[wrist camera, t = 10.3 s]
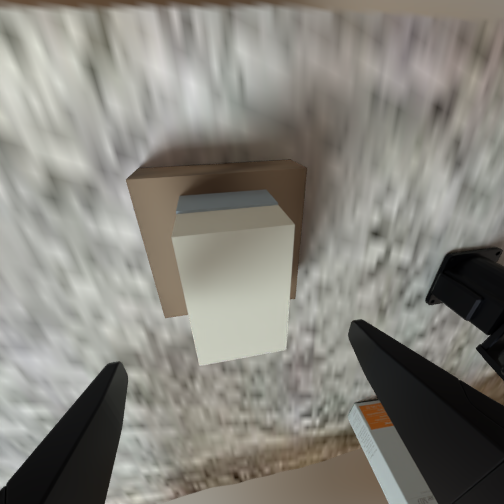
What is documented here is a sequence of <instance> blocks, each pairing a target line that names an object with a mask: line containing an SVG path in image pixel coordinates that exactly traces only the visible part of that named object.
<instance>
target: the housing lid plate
mask: <svg viewBox="0 0 504 504" xmlns="http://www.w3.org/2000/svg"><path fill="white" fill-rule="evenodd" d="M294 231H295V224H294V223H293V222H292V220H291V219H290V218H289V217H288V216H287V215H286V213H285V212H284V211H283V210H282V209H281V208H280V206H279V205H272V206H261V207H249V208H238V209H227V210H216V211H205V212H194V213H183V214H176V219H175V223H174V228H173V233H172V237H171V238H172V242H173V247H174V251H175V256H176V260H177V265H178V270H179V274H180V279H181V283H182V288H183V292H184V297H185V302H186V306H187V311H188V315H189V320H190V324H191V329H192V334H193V338H194V343H195V347H196V352H197V356H198V361H199V366H202V365H207V364H213V363H218V362H223V361H229V360H234V359H240V358H245V357H250V356H256V355H261V354H267V353H272V352H277V351H283V350H286V343H287V329H288V315H289V301H290V287H291V273H292V259H293V245H294Z"/></svg>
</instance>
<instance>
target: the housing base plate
mask: <svg viewBox="0 0 504 504" xmlns="http://www.w3.org/2000/svg"><path fill="white" fill-rule="evenodd" d="M272 205H278V202H277V201H276V200H275V199H274V198H273V197H272V195H271V194H270V193H269V192H268V191H267V190H252V191H239V192H225V193H212V194H198V195H185V196H179V200H178V204H177V209H176V214H183V213H194V212H205V211H216V210H227V209H238V208H249V207H261V206H272Z"/></svg>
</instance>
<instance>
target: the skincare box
mask: <svg viewBox="0 0 504 504" xmlns="http://www.w3.org/2000/svg"><path fill="white" fill-rule="evenodd" d="M348 420H349V422H350V424H351V426H352V428H353V430H354V432H355V434H356V436H357V438H358V440H359V442H360V445H361V447H362V449H363V451H364V453H365V455H366V457H367V459H368V461H369V463H370V465H371V467H372V469H373V471H374V473H375V475H376V477H377V480H378V482H379V484H380V486H381V488H382V490H383V492H384V494H385V496H386V498H387V500H388V503H389V504H438V503H437V501H436V499H435V498H434V496H433V494H432V492H431V491H430V489H429V487H428V485H427V483H426V482H425V480H424V478H423V476H422V475H421V473H420V471H419V469H418V468H417V466H416V464H415V462H414V461H413V459H412V457H411V455H410V454H409V452H408V450H407V448H406V447H405V445H404V443H403V441H402V439H401V438H400V436H399V434H398V432H397V431H396V429H395V427H394V425H393V424H392V422H391V420H390V418H389V417H388V415H387V413H386V411H385V410H384V408H383V406H382V404H381V402H380V401H379V400H376V401H369V402H362V403H355V404H354V405H353V408H352V410H351V411H350V413H349V415H348Z"/></svg>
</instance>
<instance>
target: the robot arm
mask: <svg viewBox="0 0 504 504" xmlns="http://www.w3.org/2000/svg"><path fill="white" fill-rule="evenodd" d="M502 252H503V250H502V249H500V248H497V247H496V248H488V249H481V250H473V251H466V252H458V253H451V254H448V255H447V256H446V257H445V258H444V260H443V263H442V265H441V267H440V269H439V272H438V274H437V276H436V278H435V280H434V283H433V285H432V287H431V289H430V291H429V294H428V296H427V298H426V301H425V302H426V303H427V304H429V305H434V304H440V303H444V304H445V305H446V306H448V307H449V308H450V309H452V310H453V311H454V312H455V313H457V314H458V315H459V316H461V317H462V318H463V319H464V320H466V321H469V322H471V323H472V324H473V325H475V326H476V327H477V328H479V329H480V330H481V331H482V332H484V333H485V334H486V335H490V336H489V337H488V338H487V339H486V340H485V341H484V342H483V343H482V344H479V345H478V346H477V347H476V350H477V351H478V352H479V353H480V354H481V355H482V357H483V358H484V359H485V360H486V362H487V363H488V364H489V365H490V366H491V367H492V368H493V369H494V370H495V372H496V373H497V374H498V375H499V376H500V377H501V378H502V379H503V380H504V266H502V265H500V264H498V263H496V262H497V260H498V259H499V257H500V255H501V254H502ZM348 337H349V341H350V343H351V345H352V347H353V349H354V352H355V354H356V356H357V358H358V361H359V363H360V365H361V367H362V370H363V372H364V374H365V376H366V378H367V380H368V381H369V383H370V385H371V387H372V388H373V390H374V392H375V394H376V395H377V397H378V399H379V401H380V402H381V404H382V406H383V408H384V410H385V411H386V413H387V415H388V417H389V418H390V420H391V422H392V424H393V425H394V427H395V429H396V431H397V432H398V434H399V436H400V438H401V439H402V441H403V443H404V445H405V447H406V448H407V450H408V452H409V454H410V455H411V457H412V459H413V461H414V462H415V464H416V466H417V468H418V469H419V471H420V473H421V475H422V476H423V478H424V480H425V482H426V483H427V485H428V487H429V489H430V491H431V492H432V494H433V496H434V498H435V499H436V501H437V503H438V504H504V406H503V405H501V404H500V403H498V402H496V401H494V400H493V399H491V398H489V397H487V396H486V395H484V394H482V393H481V392H479V391H477V390H476V389H474V388H472V387H471V386H469V385H468V384H466V383H464V382H463V381H461V380H458V378H456V377H455V376H453V375H451V374H450V373H448V372H447V371H445V370H443V369H442V368H440V367H438V366H437V365H435V364H434V363H432V362H430V361H429V360H427V359H426V358H424V357H422V356H421V355H419V354H417V353H416V352H414V351H413V350H411V349H409V348H408V347H406V346H405V345H403V344H401V343H400V342H398V341H396V340H395V339H393V338H392V337H390V336H388V335H387V334H385V333H384V332H382V331H380V330H379V329H377V328H376V327H374V326H372V325H371V324H369V323H367V322H366V321H364V320H362V319H359V320H353V321H352V322H351V325H350V329H349V333H348ZM127 386H128V375H127V372H126V370H125V368H124V366H123V364H122V362H120V361H118V362H112V363H109V364H107V365H106V366H105V367H104V368H103V370H102V371H101V372H100V373H99V374H98V376H97V377H96V378H95V379H94V380H93V381H92V383H91V384H90V385H89V386H88V387H87V389H86V390H85V391H84V392H83V393H82V395H81V396H80V397H79V398H78V399H77V400H76V402H75V403H74V404H73V405H72V406H71V408H70V409H69V410H68V411H67V412H66V413H65V415H64V416H63V417H62V418H61V419H60V421H59V422H58V423H57V424H56V425H55V427H54V428H53V429H52V430H51V431H50V432H49V434H48V435H47V436H46V437H45V438H44V440H43V441H42V442H41V443H40V444H39V445H38V447H37V448H36V449H35V450H34V451H33V453H32V454H31V455H30V456H29V457H28V459H27V460H26V461H25V462H24V463H23V464H22V466H21V467H20V468H19V469H18V470H17V472H16V473H15V474H14V475H13V476H12V477H11V479H10V480H9V481H8V482H7V484H6V486H4V487H3V488H2V489H1V490H0V504H105V500H106V496H107V491H108V487H109V483H110V478H111V474H112V470H113V465H114V461H115V457H116V452H117V448H118V444H119V439H120V435H121V430H122V425H123V418H124V410H125V402H126V394H127Z"/></svg>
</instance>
